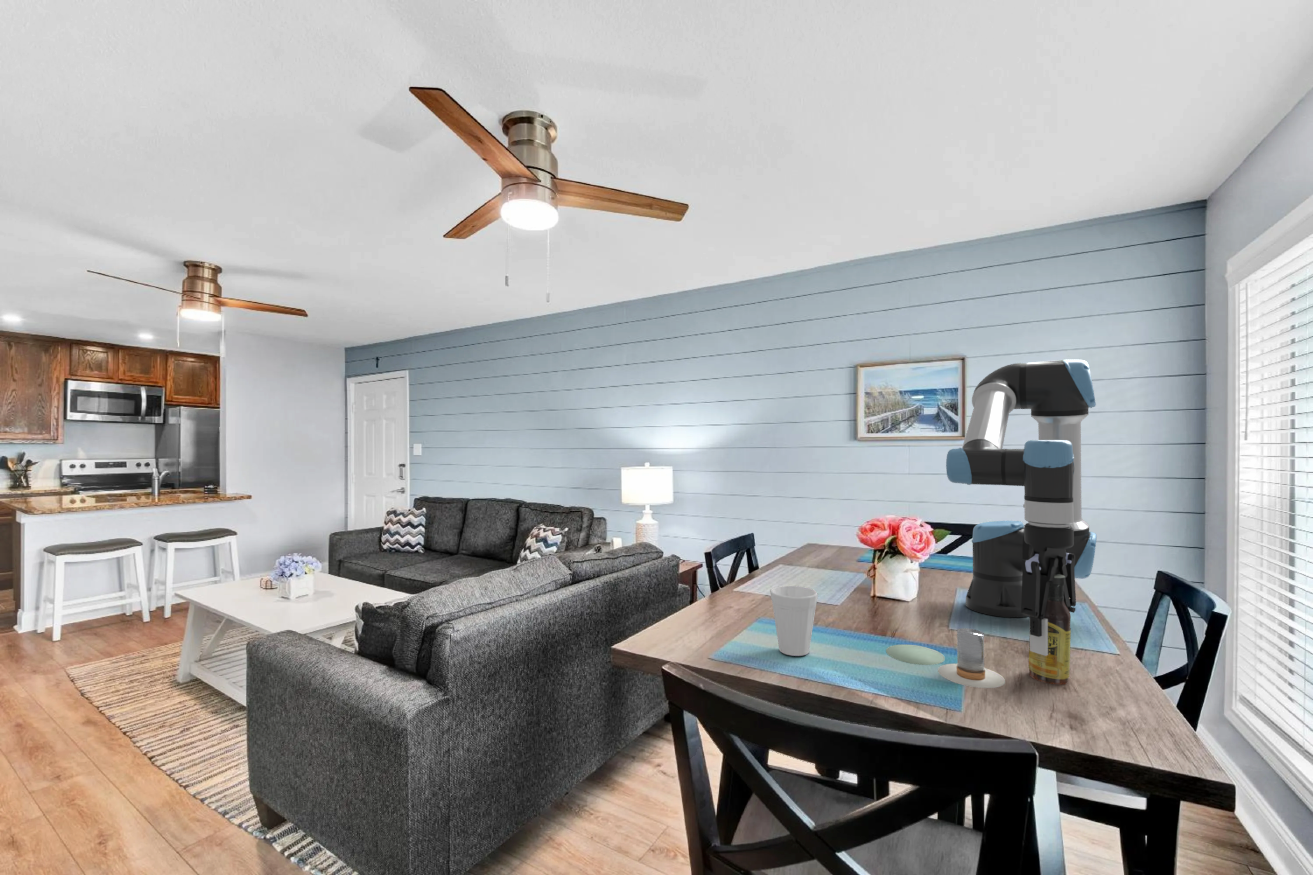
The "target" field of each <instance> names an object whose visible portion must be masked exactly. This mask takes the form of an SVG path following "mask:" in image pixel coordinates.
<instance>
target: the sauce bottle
mask: <svg viewBox="0 0 1313 875" xmlns="http://www.w3.org/2000/svg"><path fill="white" fill-rule="evenodd" d="M1042 576H1046V575H1042ZM1064 584H1065V576H1064V575H1061V574H1057V575H1054V581H1053V582H1051V583H1050V587H1049V593H1048V599H1047V605H1046V611H1045V617H1044V618H1046V619H1048V655H1047V656H1044V655H1041V654H1038V653H1035V652H1032V651H1030V635H1028V636H1029V639H1028V640H1029V642H1028V644H1029V645H1028V646H1029V647H1028V670H1029V674H1028V675H1029V676H1030V677H1031V678H1033V680H1036V681H1038V682H1040V683H1045V684H1050V685H1061V686H1062V685H1067V684H1068V682H1069V678H1070V666H1071V663H1070V662H1071V638H1072V637H1071V636H1072V635H1071V634H1072V630H1071V629H1072V628H1071V618H1072V617H1071V612H1069V610H1068V608H1067V607H1066V605H1065V603H1064V596H1063V594H1064Z"/></svg>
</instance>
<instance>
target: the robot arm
mask: <svg viewBox="0 0 1313 875" xmlns="http://www.w3.org/2000/svg"><path fill="white" fill-rule="evenodd" d="M1090 368H1091V367H1090V364H1089V363H1088V361H1086V360H1085V359H1084V360H1083V359H1065V358H1064V359H1059V360H1058V359H1057V360H1046V361H1045V360H1044V361H1035V362H1034V361H1032V362H1017V363H1016V362H1015V363H1010V364H1007V365H1004V366H1002V367H1000V368H997V369H995V370H994V371H992V372H991V373H989V374H987V375H986V376H985V377H984V378H983V379H982V380H981V381H979V383H978V384H977V386H976V387H975V389H974V391H973V393H972V395H971V396H972V397H971V404H972V408H973V410H972V413H971V417H970V420H969V423H968V426H967V431H966V433H965V437H964V440H963V445H962V447H958V448H952V449H949V450H948V451H947V453H946V462H945V463H946V464H945V468H946V477H947V479H948V481H949V482H951V483H953V484H965V485H969V486H971V485H981V486H982V485H983V486H985V485H986V486H987V485H988V486H1008V487H1010V486H1012V487H1013V486H1015V487H1016V486H1017V487H1024V496H1023V498H1024V503H1023V504H1022V505H1023V508H1024V520H1025V522H1026V523H1025V524H1024V522H1023V521H1021V520H995V521H985V522H980V523H977V524H976V525H975V526H974V527H973V529H972V540H971V543H972V578H971V582H970V585H969V587H968V590H967V593H966V595H965V606H966V607H967V608H968V609H969V610H972V611H974V612H977V613H981V614H984V615H989V616H994V617H1003V618H1026V617H1029V636H1030V637H1029V638H1030V651H1032V652H1035V653H1038V654H1041V655H1044V656H1047V655H1048V619H1046V618H1044V617H1045V611H1046V605H1047V599H1048V593H1049V587H1050V583H1051V582H1053V581H1054V575H1057V574H1061V575H1064V576H1065V584H1064V594H1063V596H1064V603H1065V605H1066V607H1067V608H1068V610H1069V612H1070V613H1072V614H1073V613H1075V612H1076V607H1075V606H1076V605H1077V597H1076V579H1077V580H1078V579H1079V580H1081V579H1087V578H1089V577H1090V575H1091V574H1092V571H1093V565H1094V561H1095V555H1096V547H1097V537H1098V536H1097V533H1096V532H1093V531H1090V525H1089V523H1087V521H1085V520H1084V519H1083V517H1082V453H1081V452H1082V432H1081V431H1082V426H1081V425H1082V421H1083V420H1084V419H1086V418H1087V417H1088V416H1089V408H1090V409H1092V408H1094V407H1096V406H1097V403H1096V398H1095V390H1094V385H1093V380H1092V374H1091V369H1090ZM1013 410H1030V417H1031V418H1032V419H1033V420H1034V421H1036V422H1037V423H1038V424H1037V425H1038V429H1037V430H1038V431H1037V432H1038V439H1035V440H1034V439H1032V440H1026V442H1025V443H1024V447H1023V448H1003V447H1004V446H1003V445H1004V441H1005V437H1006V431H1007V427H1008V421H1009V416H1010V413H1011V412H1013ZM1042 575H1046V576H1042Z"/></svg>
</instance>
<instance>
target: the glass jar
mask: <svg viewBox="0 0 1313 875" xmlns="http://www.w3.org/2000/svg"><path fill="white" fill-rule="evenodd" d="M956 638H957V639H956V641H957V642H956V643H957V644H956V646H957V647H956V649H957V650H956V652H957V654H956V656H957V662H956V664H957V675H959V676H960V677H962V678H965V679H969V680H983V679H985V670H984V668H985V634H984V632H983V631H981V630H978V629H974V628H964V627H963V628H958V629H957V630H956Z"/></svg>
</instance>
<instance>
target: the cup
mask: <svg viewBox="0 0 1313 875" xmlns="http://www.w3.org/2000/svg"><path fill="white" fill-rule="evenodd" d="M769 592H770V593H769V594H770V600H771V603H772V610H773V617H774V623H775V630H776V636H777V643H778V649H779V652H781V653H782V654H784V655H787V656H793V657H794V656H795V657H801V656H805V655H808V654H809V653H810V648H811V643H812V634H813V628H814V621H815V613H816V608H817V603H818V598H819V596H818V595H819V593H818V592H817V590H816V589H813V588H810V587H805V586H801V585H800V586H799V585H780V586H779V585H778V586H774V587H772V588H771V589H770V590H769Z"/></svg>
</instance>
